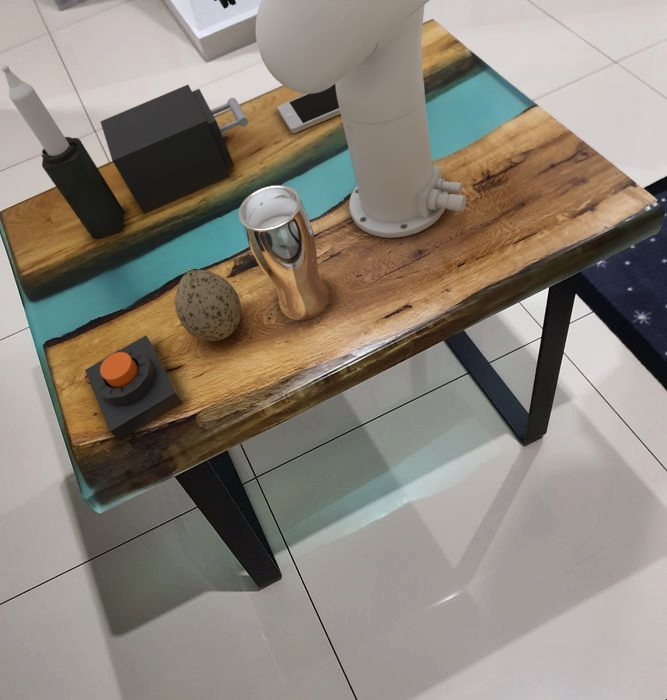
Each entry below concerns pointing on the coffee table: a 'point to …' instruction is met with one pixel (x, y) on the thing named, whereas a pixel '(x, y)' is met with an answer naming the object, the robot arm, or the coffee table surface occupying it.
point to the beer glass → (285, 249)
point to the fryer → (164, 149)
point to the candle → (68, 164)
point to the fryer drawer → (217, 130)
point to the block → (135, 391)
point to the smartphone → (310, 109)
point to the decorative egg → (207, 305)
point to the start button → (119, 369)
